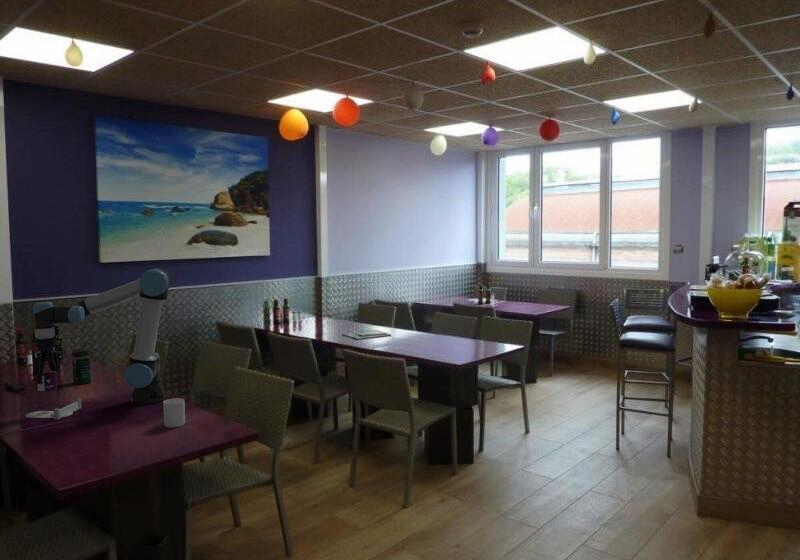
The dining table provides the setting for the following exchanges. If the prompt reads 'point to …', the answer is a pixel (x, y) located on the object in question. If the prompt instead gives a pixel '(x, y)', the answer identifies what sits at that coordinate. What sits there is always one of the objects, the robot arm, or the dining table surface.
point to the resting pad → (44, 414)
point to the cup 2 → (174, 412)
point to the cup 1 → (50, 381)
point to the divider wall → (67, 409)
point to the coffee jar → (81, 366)
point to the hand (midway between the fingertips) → (47, 388)
